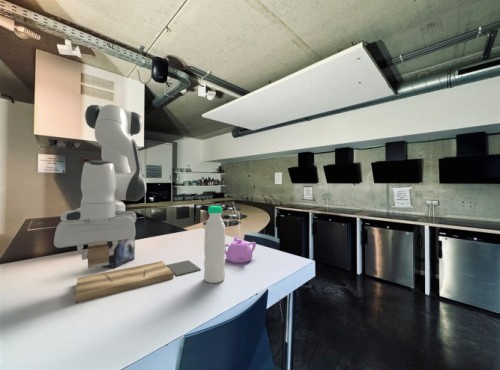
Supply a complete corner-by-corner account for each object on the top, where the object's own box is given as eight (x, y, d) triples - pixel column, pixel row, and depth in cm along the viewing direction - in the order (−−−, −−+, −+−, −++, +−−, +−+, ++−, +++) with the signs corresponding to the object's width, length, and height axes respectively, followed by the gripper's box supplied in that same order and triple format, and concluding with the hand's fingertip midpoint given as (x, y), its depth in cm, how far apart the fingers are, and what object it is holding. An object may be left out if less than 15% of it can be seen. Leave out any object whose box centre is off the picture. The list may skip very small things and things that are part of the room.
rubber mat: (166, 266, 84) (166, 264, 84) (188, 261, 89) (188, 260, 89) (176, 276, 74) (176, 274, 74) (200, 270, 80) (200, 269, 80)
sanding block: (87, 260, 67) (87, 244, 67) (106, 256, 70) (106, 241, 70) (87, 268, 60) (88, 250, 60) (108, 264, 63) (109, 247, 63)
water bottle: (199, 279, 72) (200, 206, 72) (216, 273, 77) (216, 204, 77) (212, 286, 67) (213, 207, 67) (229, 279, 72) (229, 206, 73)
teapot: (234, 253, 101) (234, 234, 101) (260, 258, 93) (260, 238, 94) (218, 260, 90) (218, 240, 91) (245, 267, 83) (246, 244, 83)
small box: (115, 268, 81) (115, 241, 81) (101, 267, 82) (101, 240, 82) (135, 259, 91) (135, 235, 91) (122, 258, 93) (123, 234, 93)
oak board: (77, 284, 68) (77, 278, 68) (161, 266, 84) (162, 261, 84) (75, 303, 57) (75, 295, 57) (173, 278, 73) (173, 272, 73)
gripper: (134, 209, 74) (134, 248, 74) (56, 213, 62) (55, 260, 62) (138, 210, 69) (137, 253, 69) (53, 215, 57) (52, 267, 57)
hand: (98, 257), depth 65 cm, fingers closed on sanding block, 5 cm apart
